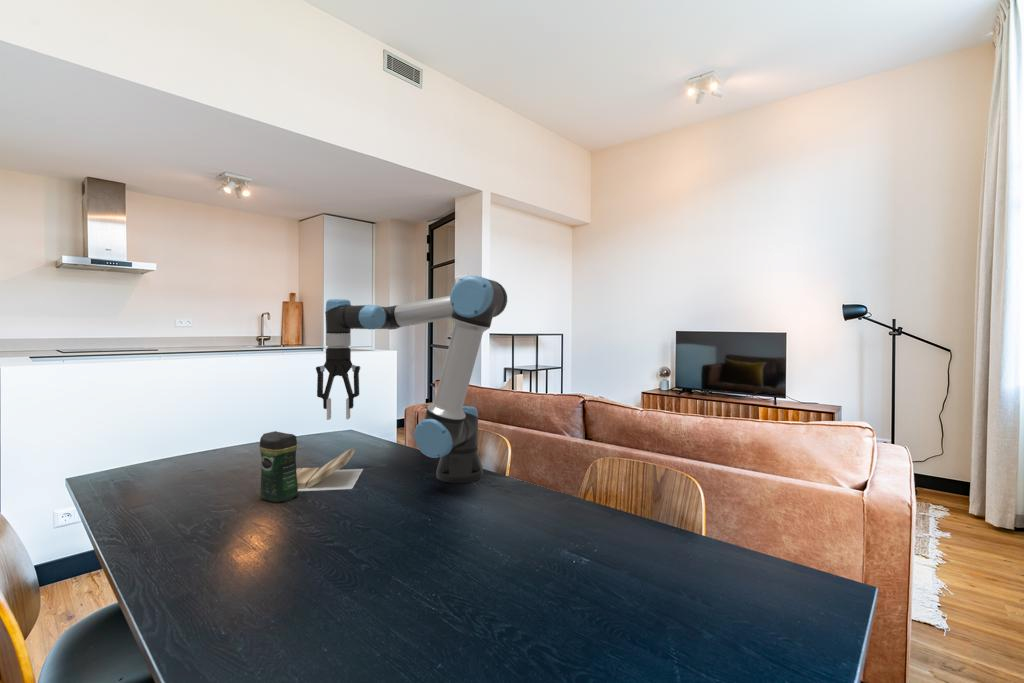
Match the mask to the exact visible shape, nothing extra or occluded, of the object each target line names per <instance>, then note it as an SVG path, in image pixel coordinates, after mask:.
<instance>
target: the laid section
mask: <svg viewBox="0 0 1024 683" xmlns="http://www.w3.org/2000/svg"><path fill="white" fill-rule="evenodd" d="M319 469H320V467H298V468H297V467H296V472H297V483H298V489H305V488H306V487H307V486H308V484H307V482H308V481H309V480H310V479H311V478H312V477H313V476H314V474H315V473H316V472H317V471H318V470H319Z"/></svg>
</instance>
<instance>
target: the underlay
mask: <svg viewBox="0 0 1024 683" xmlns="http://www.w3.org/2000/svg"><path fill="white" fill-rule="evenodd" d="M363 471H364V468H354V469H353V468H352V469H351V468H350V469H338V470H337V471H335V472H334V473H332V474H330V475H329V476H327V477H326V478H324V479H323V480H321V481H319V482H318V483H316V484H315V485H313V486H311V487H309V486H307V487H306V488H305V489H298V492H310V491H311V492H314V491H316V492H317V491H333V490H334V491H335V490H337V491H338V490H352V489H353V488H354V486H355V484H356V483H357V481H358V479H359V477H360V476H361V474H362V472H363Z"/></svg>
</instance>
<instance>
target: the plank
mask: <svg viewBox="0 0 1024 683" xmlns="http://www.w3.org/2000/svg"><path fill="white" fill-rule="evenodd" d="M354 453H356V451H355V449H354V447H351V448H350V449H347V450H346V451H344V452H343V453H341V454H340V455H337V457H335V458H333V459H332V460H330V461H328V462H327V463H325V464H324V465H322V466H321V467H319V470H318V471H317V472H316V473H315V474H314V476H313V477H312V478H311V479H310V480H309V481H308V482H307V484H308V486H309V487H311V486H313V485H315V484H316V483H318V482H319V481H321V480H323V479H324V478H326V477H327V476H329V475H330V474H332V473H334V472H335V471H337V470H341V469H342V468H343V467H345V466H346V464H348V462H349V461H350V460H351V458H352V456H354Z"/></svg>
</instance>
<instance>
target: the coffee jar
mask: <svg viewBox="0 0 1024 683" xmlns="http://www.w3.org/2000/svg"><path fill="white" fill-rule="evenodd" d="M297 449H298V440H297V435H295V434H293V433H285V432H281V431H276V430H275V431H270V432H266V433H263V434H262V436H260V439H259V452H260V459H261V461H260V462H261V469H260V470H261V473H260V475H261V476H260V479H261V480H260V498H261V499H262V500H264V501H267V502H271V503H282V502H288V501H291V500H293V499H294V498H296V497H297V496H298V494H299V491H298V483H297V472H296V468H297V457H296V456H297V455H296V454H297Z"/></svg>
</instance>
